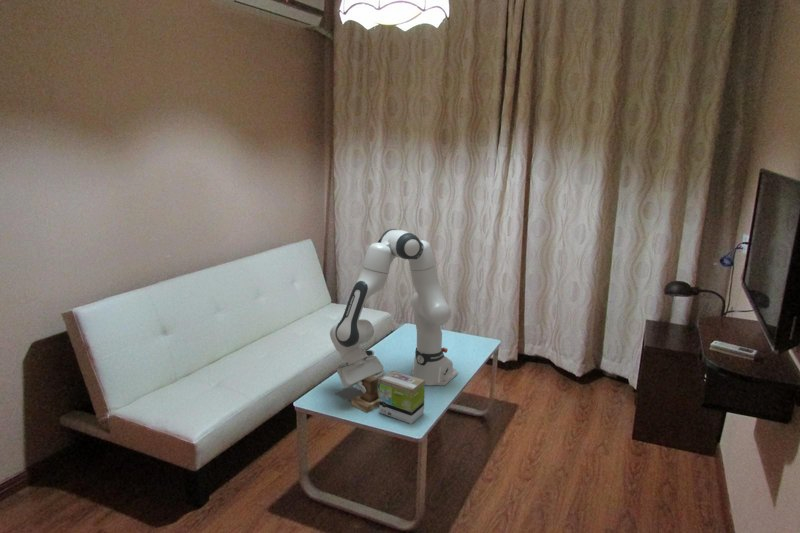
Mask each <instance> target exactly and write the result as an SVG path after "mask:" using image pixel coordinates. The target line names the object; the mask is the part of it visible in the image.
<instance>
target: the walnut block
mask: <svg viewBox="0 0 800 533" xmlns="http://www.w3.org/2000/svg"><path fill="white" fill-rule="evenodd" d="M362 385H363V386H364V387H367V389H368V391H367V392H365V393H363V392H362V399H363V400H365V401H367V402H369V403H371V402H373V401H375V400H377V399H378V392H379V387H378V386H379V385H378V378H376V377H373V376H369V377H367V378H365V379H363V380H362Z"/></svg>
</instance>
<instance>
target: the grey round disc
mask: <svg viewBox="0 0 800 533" xmlns="http://www.w3.org/2000/svg"><path fill="white" fill-rule="evenodd" d="M386 375H387V374H386V371H385V370H383V371H382V372H381V373H380V374H378V375H376V377H377V378H378V386H380V379H382V378H383V377H385V376H386Z"/></svg>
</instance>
